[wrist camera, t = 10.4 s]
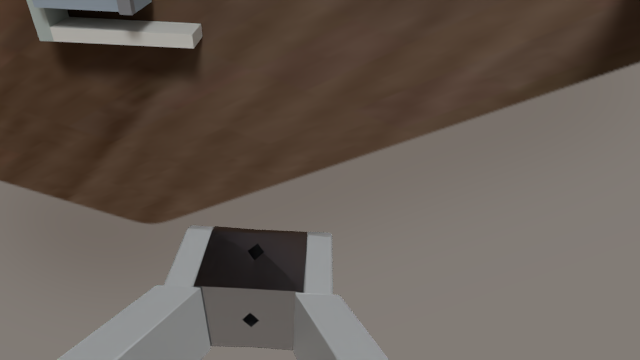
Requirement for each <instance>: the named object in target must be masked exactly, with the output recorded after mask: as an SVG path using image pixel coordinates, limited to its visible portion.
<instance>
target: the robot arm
mask: <svg viewBox="0 0 640 360" xmlns="http://www.w3.org/2000/svg"><path fill="white" fill-rule="evenodd" d="M332 279H333V278H332V235H331V233H324V232H308V235H307V232H295V231H274V230H254V229H240V228H228V227H216V226H215V227H209V226H197V225H191V226H190V227H189V228H188V229H187V230H186V232H185V235H184V237H183V240H182V242H181V245H180V247H179V249H178V252H177V254H176V257H175V259H174V262H173V264H172V267H171V269H170V271H169V274H168V276H167V278H166V281H165V283H164V285H163V286H161V285H156V286H154V287H153V288H152V289H150V290H149V291H148V292H146V293H145V294H144V295H143V296H141V297H140V298H138V299H137V300H136V301H134V302H133V303H132V304H130V305H129V306H128V307H126V308H125V309H124V310H122V311H121V312H120V313H118V314H117V315H116V316H114V317H113V318H112V319H110V320H109V321H108V322H107V323H105V324H104V325H102V326H101V327H100V328H99V329H97V330H96V331H94V332H93V333H92V334H91V335H89V336H88V337H86V338H85V339H84V340H83V341H81V342H80V343H79V344H77V345H76V346H74V347H73V348H72V349H71V350H69V351H68V352H66V353H65V354H64V355H62V356H61V357H60V358H58V359H57V360H202V358H203V357H204V356H205V355H206V354H207V353H208V352H209V350H210V349H211V346H228V347H258V348H271V349H283V350H293V351H294V354H295V356H296V359H297V360H389V359H388V358H387V357H386V355H385V354H384V353H383V351H382V350H381V349H380V347H379V346H378V345H377V343H376V342H375V341H374V339H373V338H372V337H371V336H370V334H369V333H368V331H367V330H366V329H365V328H364V326H363V325H362V324H361V322H360V321H359V320H358V318H357V317H356V316H355V314H354V313H353V312H352V310H351V309H350V308H349V306H348V305H347V304H346V303H345V301H344V300H343V298H341V296H340V295H333V280H332Z"/></svg>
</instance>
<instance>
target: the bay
mask: <svg viewBox="0 0 640 360" xmlns="http://www.w3.org/2000/svg"><path fill="white" fill-rule="evenodd" d="M27 3H28V6H29V9H30V12H31V15H32V18H33V21H34V24H35V27H36V30H37V34H38V37H39V40H40V41H55V42H75V43H95V44H114V45H134V46H154V47H174V48H193V49H194V48H195V46H196V45H197V44H198V42H199V41H200V39H201V38H202V28H201V24H196V23H177V22H158V21H140V20H121V19H102V18H83V17H69V14H68V10H67V9H56V8H37V7H34V4H33V1H32V0H27Z"/></svg>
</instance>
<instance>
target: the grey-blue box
mask: <svg viewBox="0 0 640 360" xmlns="http://www.w3.org/2000/svg"><path fill="white" fill-rule="evenodd" d="M32 1H33V4H34V7H37V8H56V9H74V10H92V11H111V12H119V14H120V15H134V14H135V13H136V12H138V11H139V10H141V9H142V8H143V7H145V6H146V5H148V4H149V3H151V2H152V1H151V0H32Z"/></svg>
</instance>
